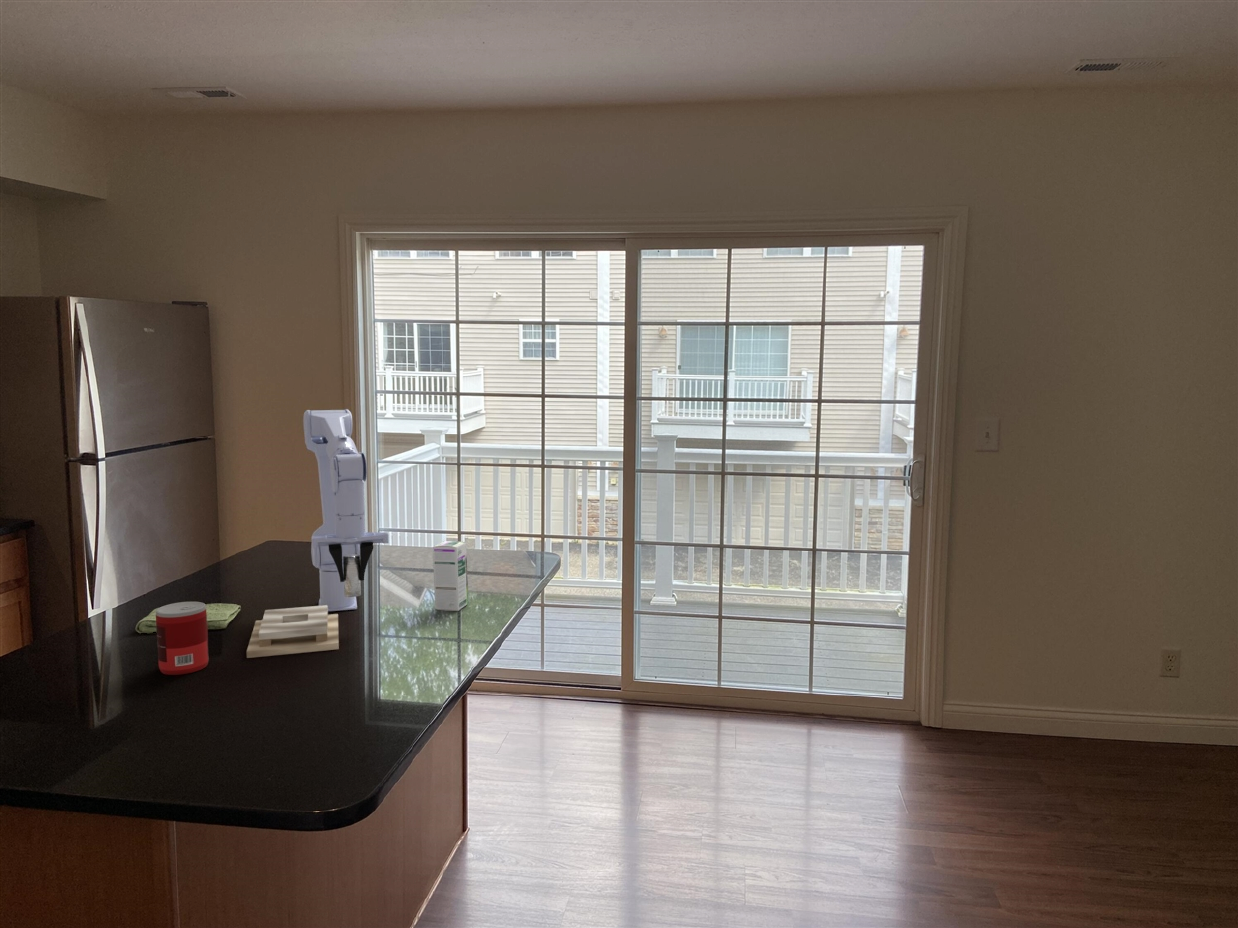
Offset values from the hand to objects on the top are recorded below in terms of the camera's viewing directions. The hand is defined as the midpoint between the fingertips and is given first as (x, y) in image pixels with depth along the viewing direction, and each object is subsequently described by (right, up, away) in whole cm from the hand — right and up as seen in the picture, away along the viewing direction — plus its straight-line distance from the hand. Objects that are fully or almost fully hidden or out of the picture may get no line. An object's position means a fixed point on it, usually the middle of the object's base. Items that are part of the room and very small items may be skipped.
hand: (352, 580), depth 170 cm
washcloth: (-35, -10, +6) cm, 37 cm away
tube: (0, -3, 0) cm, 3 cm away
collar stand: (-10, -11, -3) cm, 15 cm away
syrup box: (+17, -9, +18) cm, 26 cm away
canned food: (-23, -13, -21) cm, 34 cm away
